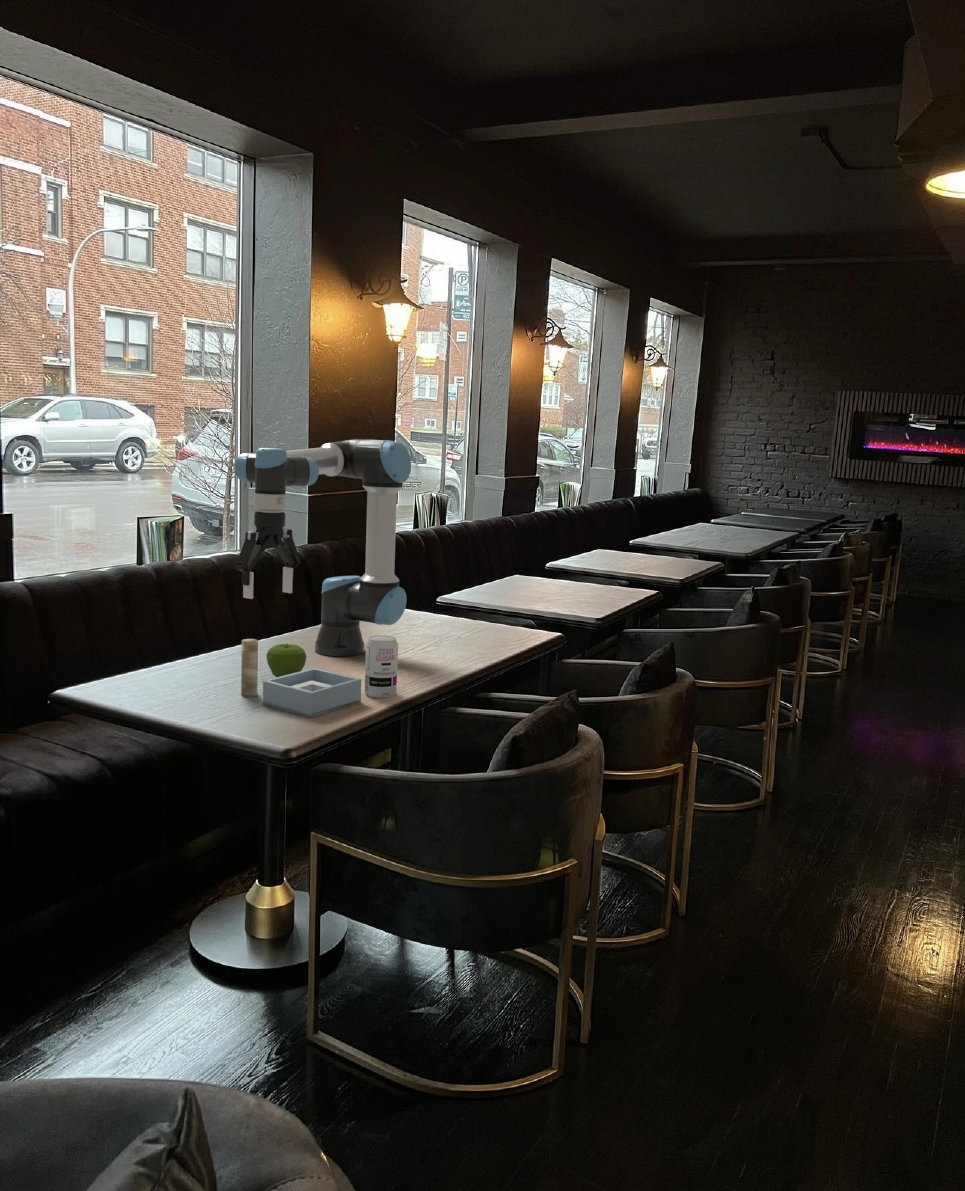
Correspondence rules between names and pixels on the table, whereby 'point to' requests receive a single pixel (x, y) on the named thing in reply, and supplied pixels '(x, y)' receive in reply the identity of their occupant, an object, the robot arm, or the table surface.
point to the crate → (311, 692)
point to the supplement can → (381, 666)
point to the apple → (286, 659)
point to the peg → (249, 667)
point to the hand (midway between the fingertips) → (268, 595)
